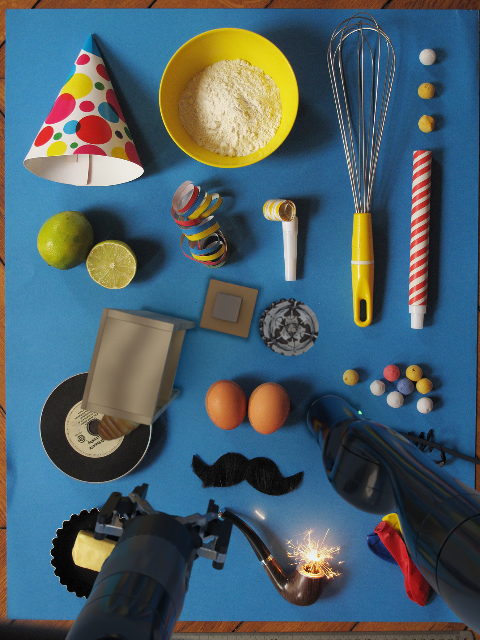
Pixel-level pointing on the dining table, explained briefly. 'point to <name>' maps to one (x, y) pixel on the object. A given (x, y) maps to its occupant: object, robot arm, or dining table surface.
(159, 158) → the dining table surface
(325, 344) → the dining table surface
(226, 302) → the block
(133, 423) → the pastry
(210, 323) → the mat
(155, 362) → the shelf
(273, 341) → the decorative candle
